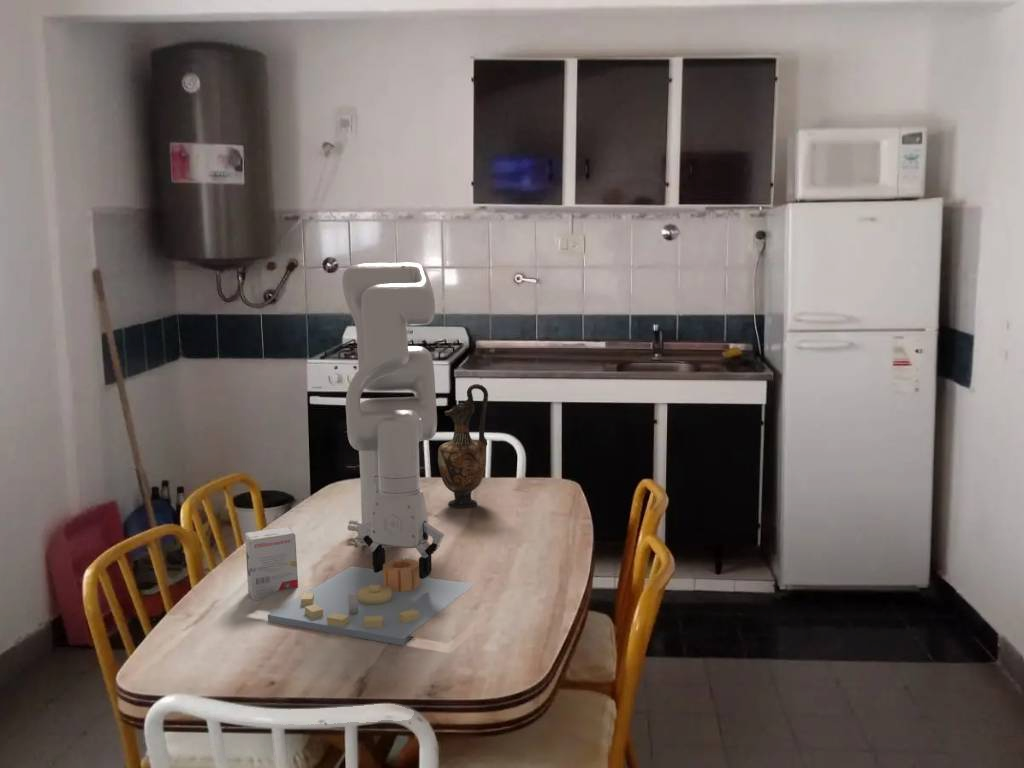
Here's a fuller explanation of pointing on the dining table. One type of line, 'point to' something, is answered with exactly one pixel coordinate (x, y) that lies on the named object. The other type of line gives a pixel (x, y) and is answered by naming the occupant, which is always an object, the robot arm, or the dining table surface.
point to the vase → (464, 452)
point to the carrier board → (368, 606)
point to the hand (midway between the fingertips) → (402, 573)
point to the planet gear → (401, 575)
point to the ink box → (271, 561)
